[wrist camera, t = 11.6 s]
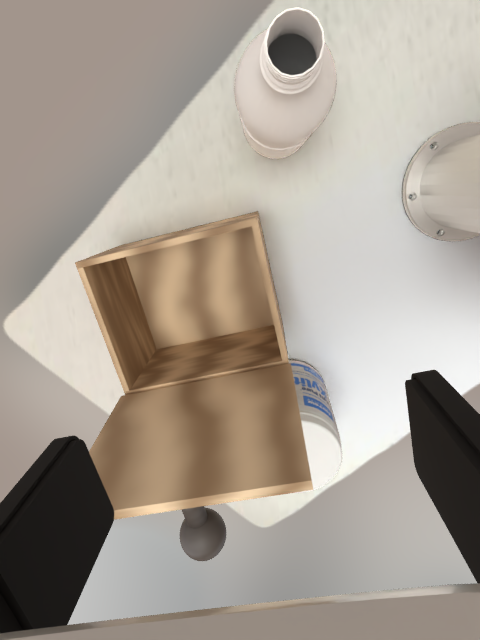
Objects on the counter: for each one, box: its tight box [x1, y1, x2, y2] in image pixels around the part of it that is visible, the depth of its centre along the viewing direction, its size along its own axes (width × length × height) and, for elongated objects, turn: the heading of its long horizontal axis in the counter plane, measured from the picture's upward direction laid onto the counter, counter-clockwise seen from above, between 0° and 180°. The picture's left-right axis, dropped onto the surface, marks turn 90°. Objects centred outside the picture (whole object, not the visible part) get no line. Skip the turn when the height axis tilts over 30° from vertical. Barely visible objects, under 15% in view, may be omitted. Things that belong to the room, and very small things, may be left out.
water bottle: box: [234, 7, 336, 159], centre depth 30 cm, size 7×7×25 cm
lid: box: [89, 363, 313, 561], centre depth 33 cm, size 18×15×8 cm
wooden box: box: [75, 211, 289, 395], centre depth 43 cm, size 18×15×12 cm
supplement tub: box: [289, 360, 342, 493], centre depth 46 cm, size 10×10×15 cm
